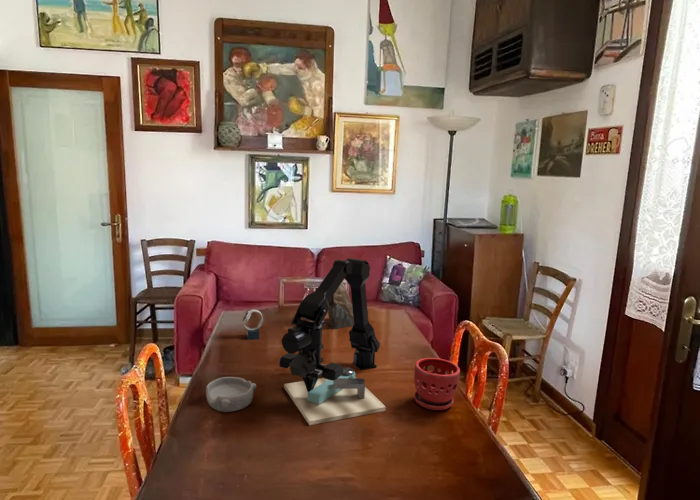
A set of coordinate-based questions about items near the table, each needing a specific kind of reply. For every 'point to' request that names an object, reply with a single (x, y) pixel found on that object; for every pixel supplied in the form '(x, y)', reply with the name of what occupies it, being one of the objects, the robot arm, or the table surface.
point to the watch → (252, 331)
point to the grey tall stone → (340, 309)
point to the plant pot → (435, 383)
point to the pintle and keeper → (350, 383)
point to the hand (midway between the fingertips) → (309, 393)
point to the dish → (229, 393)
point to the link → (325, 390)
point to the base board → (332, 403)
